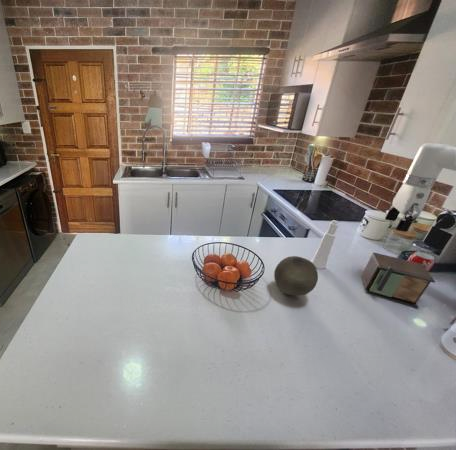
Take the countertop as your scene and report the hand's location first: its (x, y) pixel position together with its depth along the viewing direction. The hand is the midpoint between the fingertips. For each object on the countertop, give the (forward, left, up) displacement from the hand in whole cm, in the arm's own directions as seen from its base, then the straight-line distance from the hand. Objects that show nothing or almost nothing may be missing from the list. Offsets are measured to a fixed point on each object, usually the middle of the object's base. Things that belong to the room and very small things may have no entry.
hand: (395, 225), depth 93 cm
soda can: (-16, -9, -25) cm, 31 cm away
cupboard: (-5, +6, -25) cm, 26 cm away
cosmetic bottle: (+18, +1, -25) cm, 31 cm away
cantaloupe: (+28, +28, -25) cm, 47 cm away
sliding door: (-2, +13, -24) cm, 27 cm away
